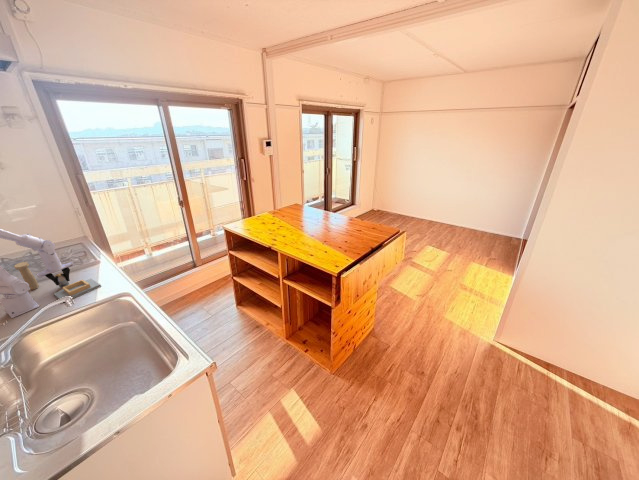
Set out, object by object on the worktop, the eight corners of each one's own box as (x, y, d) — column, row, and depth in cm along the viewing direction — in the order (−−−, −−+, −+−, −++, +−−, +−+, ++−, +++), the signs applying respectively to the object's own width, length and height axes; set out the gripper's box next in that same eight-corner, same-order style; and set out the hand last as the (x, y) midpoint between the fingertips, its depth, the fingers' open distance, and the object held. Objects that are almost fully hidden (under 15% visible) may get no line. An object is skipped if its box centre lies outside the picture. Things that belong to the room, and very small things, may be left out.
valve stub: (60, 287, 136) (55, 277, 133) (57, 285, 138) (52, 275, 135) (70, 284, 139) (64, 273, 136) (67, 282, 141) (62, 272, 138)
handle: (30, 292, 134) (15, 268, 128) (27, 288, 137) (13, 264, 131) (42, 288, 137) (28, 264, 131) (39, 284, 141) (26, 261, 134)
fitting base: (63, 302, 126) (60, 297, 124) (54, 295, 131) (51, 290, 130) (101, 286, 138) (98, 281, 137) (91, 280, 144) (89, 275, 142)
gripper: (66, 253, 140) (76, 274, 145) (29, 265, 128) (42, 287, 134) (71, 256, 136) (81, 277, 142) (34, 268, 125) (47, 291, 131)
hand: (62, 282), depth 138 cm, fingers closed on valve stub, 4 cm apart
